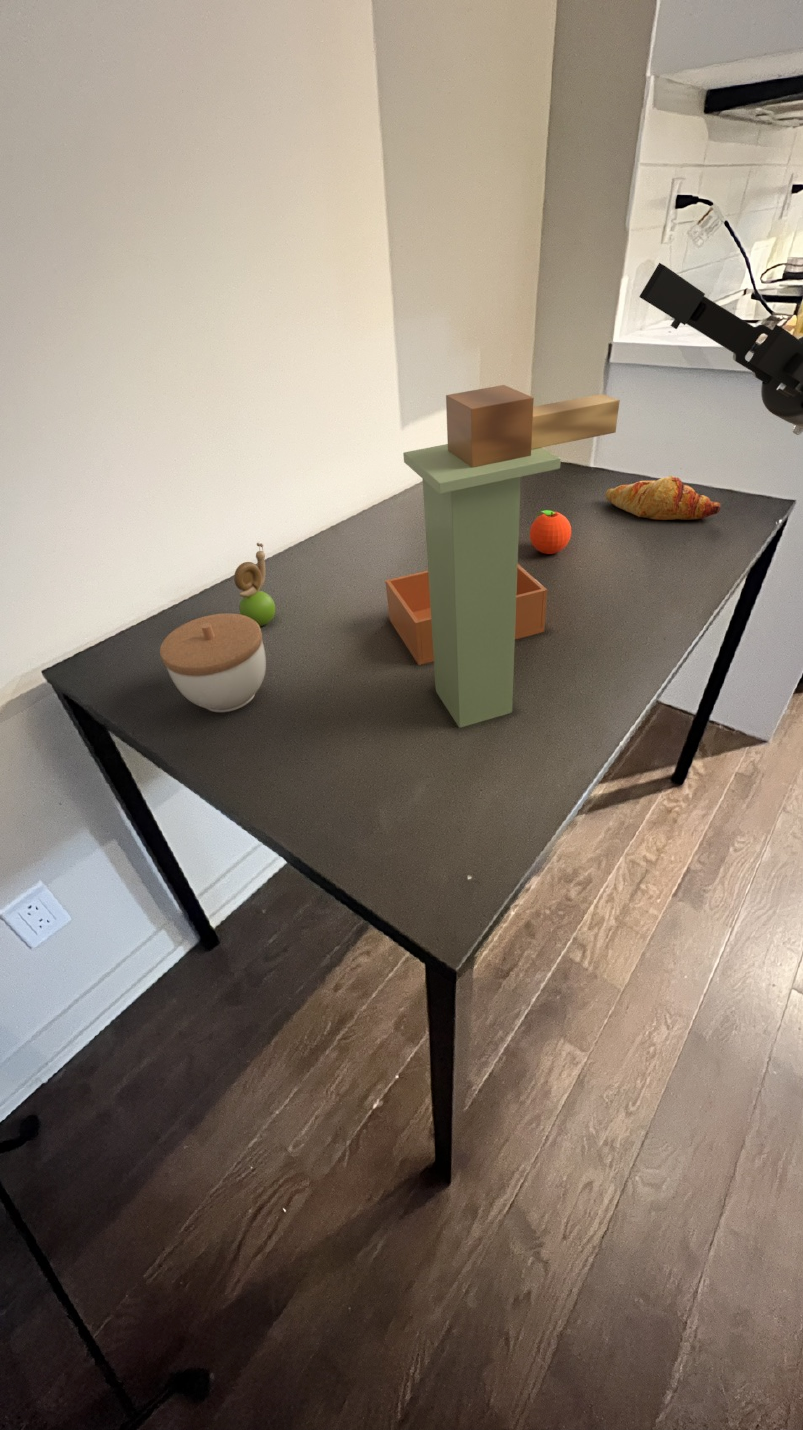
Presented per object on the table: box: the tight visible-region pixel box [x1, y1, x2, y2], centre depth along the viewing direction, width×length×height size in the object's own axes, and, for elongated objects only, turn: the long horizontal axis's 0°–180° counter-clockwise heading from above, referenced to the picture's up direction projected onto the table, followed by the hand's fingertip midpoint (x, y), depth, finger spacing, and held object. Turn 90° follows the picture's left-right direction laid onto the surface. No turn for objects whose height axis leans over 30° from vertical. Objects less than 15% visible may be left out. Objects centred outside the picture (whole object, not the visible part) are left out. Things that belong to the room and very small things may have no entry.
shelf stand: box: [403, 443, 562, 728], centre depth 69 cm, size 12×10×30 cm
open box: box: [385, 563, 548, 666], centre depth 90 cm, size 19×13×7 cm
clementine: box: [529, 509, 572, 555], centre depth 107 cm, size 8×7×7 cm
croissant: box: [605, 475, 722, 521], centre depth 116 cm, size 21×10×8 cm, turn 53°
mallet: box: [445, 384, 620, 468], centre depth 59 cm, size 16×6×5 cm, turn 109°
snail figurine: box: [233, 542, 276, 627], centre depth 95 cm, size 5×6×12 cm
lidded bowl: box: [159, 613, 267, 713], centre depth 80 cm, size 13×13×11 cm
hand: (704, 310), depth 50 cm, fingers open, 13 cm apart
